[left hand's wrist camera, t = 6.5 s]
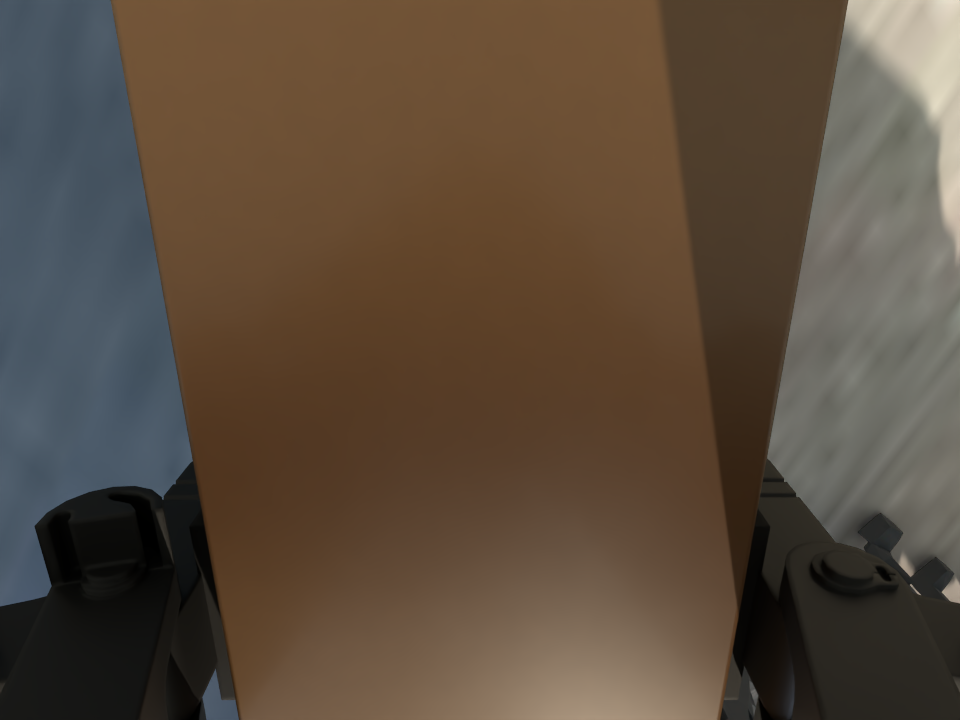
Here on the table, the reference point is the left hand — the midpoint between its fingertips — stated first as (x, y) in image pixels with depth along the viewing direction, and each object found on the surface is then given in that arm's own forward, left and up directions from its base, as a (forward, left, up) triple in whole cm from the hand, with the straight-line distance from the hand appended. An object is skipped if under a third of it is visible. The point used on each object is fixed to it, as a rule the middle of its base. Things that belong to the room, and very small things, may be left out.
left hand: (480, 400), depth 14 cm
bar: (+11, +6, 0) cm, 13 cm away
